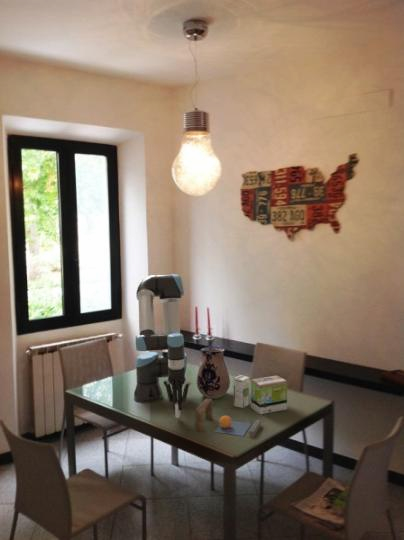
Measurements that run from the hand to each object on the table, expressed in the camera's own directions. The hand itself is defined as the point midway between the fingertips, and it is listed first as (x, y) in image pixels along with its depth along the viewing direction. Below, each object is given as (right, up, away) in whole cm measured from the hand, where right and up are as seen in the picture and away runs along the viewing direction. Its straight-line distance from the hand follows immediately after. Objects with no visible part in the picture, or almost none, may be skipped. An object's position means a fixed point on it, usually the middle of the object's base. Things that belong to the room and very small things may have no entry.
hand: (178, 416), depth 228 cm
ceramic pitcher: (+18, +2, +32) cm, 36 cm away
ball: (+22, 0, -10) cm, 24 cm away
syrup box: (+31, 0, +16) cm, 35 cm away
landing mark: (+25, -2, -10) cm, 27 cm away
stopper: (+35, -2, -13) cm, 37 cm away
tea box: (+44, 0, +11) cm, 45 cm away
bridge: (+12, -2, -5) cm, 13 cm away
